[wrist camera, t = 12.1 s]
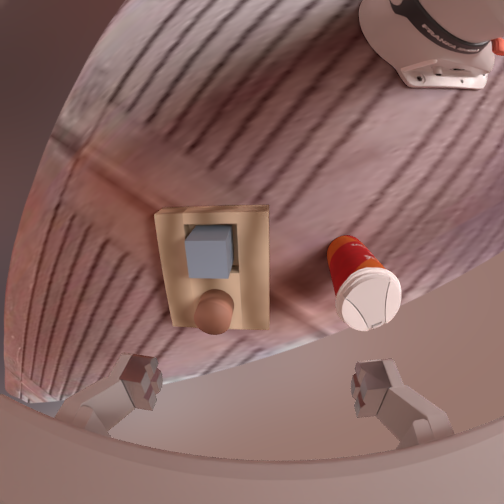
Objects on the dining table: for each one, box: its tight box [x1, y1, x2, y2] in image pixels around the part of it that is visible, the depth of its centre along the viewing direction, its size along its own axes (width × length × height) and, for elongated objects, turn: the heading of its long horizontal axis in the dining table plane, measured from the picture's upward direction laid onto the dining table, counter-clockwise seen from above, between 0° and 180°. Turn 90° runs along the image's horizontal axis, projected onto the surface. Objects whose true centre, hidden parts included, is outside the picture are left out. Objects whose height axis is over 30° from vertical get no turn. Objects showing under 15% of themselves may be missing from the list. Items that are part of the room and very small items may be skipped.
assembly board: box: [154, 205, 270, 335], centre depth 40 cm, size 15×18×8 cm
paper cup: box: [327, 235, 401, 331], centre depth 35 cm, size 8×8×14 cm
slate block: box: [185, 225, 234, 279], centre depth 39 cm, size 5×5×6 cm
